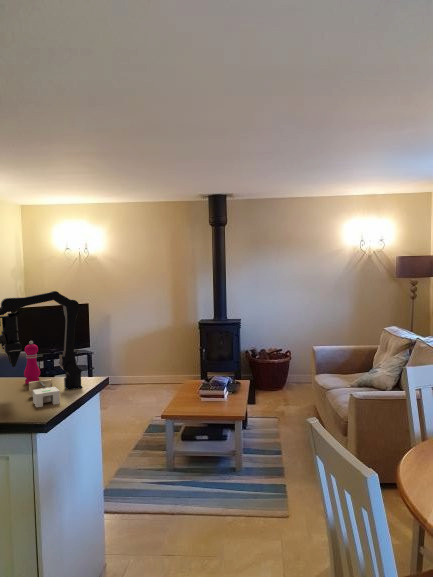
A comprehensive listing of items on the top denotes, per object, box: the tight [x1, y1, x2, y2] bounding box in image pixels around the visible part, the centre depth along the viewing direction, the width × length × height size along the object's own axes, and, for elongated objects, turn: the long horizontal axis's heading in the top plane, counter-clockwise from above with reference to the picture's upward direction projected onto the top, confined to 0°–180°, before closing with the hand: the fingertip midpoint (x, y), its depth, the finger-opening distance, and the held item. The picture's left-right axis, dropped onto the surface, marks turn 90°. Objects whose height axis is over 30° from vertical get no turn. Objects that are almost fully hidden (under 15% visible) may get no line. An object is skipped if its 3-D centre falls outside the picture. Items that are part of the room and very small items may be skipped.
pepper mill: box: [23, 340, 41, 385], centre depth 201 cm, size 7×7×20 cm
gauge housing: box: [32, 386, 61, 408], centre depth 166 cm, size 9×8×5 cm
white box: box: [28, 378, 53, 404], centre depth 171 cm, size 9×15×6 cm, turn 32°
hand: (12, 365), depth 176 cm, fingers open, 9 cm apart
